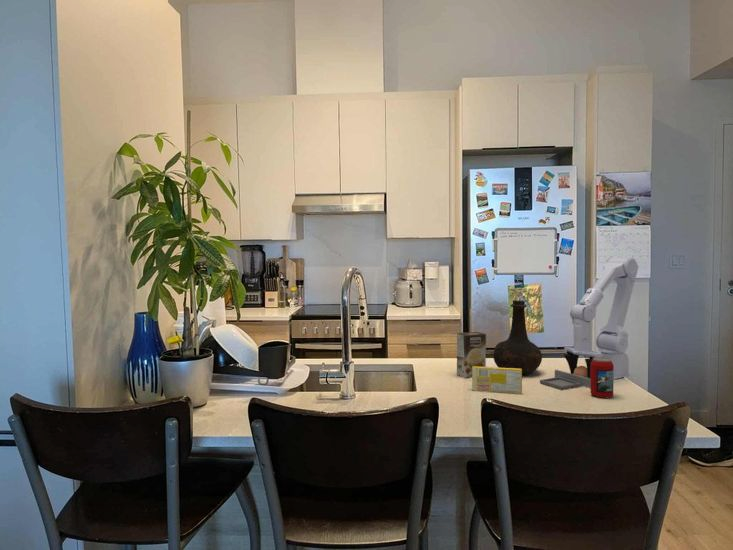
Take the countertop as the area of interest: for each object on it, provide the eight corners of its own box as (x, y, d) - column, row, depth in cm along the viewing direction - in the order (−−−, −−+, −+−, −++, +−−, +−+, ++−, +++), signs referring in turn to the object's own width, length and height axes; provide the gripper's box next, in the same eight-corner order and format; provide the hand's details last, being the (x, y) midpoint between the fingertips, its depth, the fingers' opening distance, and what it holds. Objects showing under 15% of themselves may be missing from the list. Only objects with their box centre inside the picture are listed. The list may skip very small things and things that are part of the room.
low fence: (556, 377, 191) (556, 369, 191) (592, 387, 177) (592, 379, 177) (554, 378, 191) (554, 369, 191) (590, 388, 176) (590, 379, 176)
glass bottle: (488, 367, 208) (487, 298, 207) (532, 366, 209) (532, 297, 208) (501, 379, 191) (501, 303, 189) (549, 377, 191) (549, 302, 190)
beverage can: (603, 400, 163) (604, 362, 162) (585, 394, 169) (585, 358, 168) (618, 396, 166) (618, 359, 165) (599, 391, 172) (600, 355, 171)
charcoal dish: (558, 380, 188) (558, 376, 188) (581, 386, 179) (581, 383, 179) (539, 383, 184) (539, 380, 184) (561, 390, 175) (561, 386, 175)
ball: (581, 378, 189) (581, 363, 189) (593, 382, 184) (593, 366, 184) (570, 380, 187) (570, 365, 187) (582, 383, 182) (582, 368, 182)
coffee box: (464, 378, 192) (464, 335, 191) (456, 374, 198) (456, 332, 197) (486, 376, 195) (486, 333, 194) (477, 372, 201) (477, 331, 200)
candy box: (522, 393, 173) (522, 368, 172) (521, 394, 171) (521, 369, 170) (472, 389, 178) (472, 365, 178) (472, 391, 176) (471, 366, 176)
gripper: (558, 336, 190) (558, 372, 190) (590, 342, 177) (590, 381, 177) (572, 334, 193) (572, 370, 193) (605, 340, 180) (605, 379, 180)
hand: (582, 375), depth 186 cm, fingers open, 7 cm apart
